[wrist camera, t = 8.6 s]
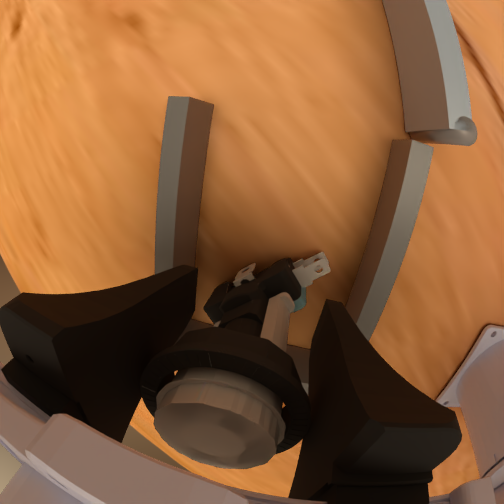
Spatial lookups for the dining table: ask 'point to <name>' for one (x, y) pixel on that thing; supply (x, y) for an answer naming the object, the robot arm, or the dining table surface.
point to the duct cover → (430, 72)
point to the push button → (236, 372)
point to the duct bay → (189, 198)
